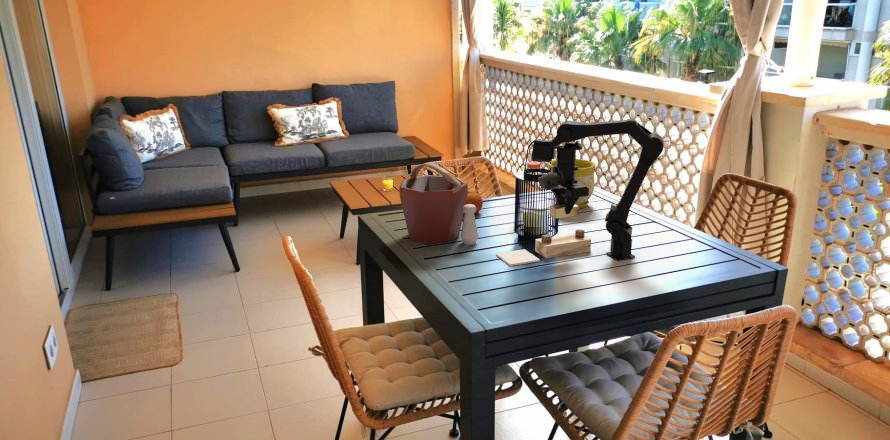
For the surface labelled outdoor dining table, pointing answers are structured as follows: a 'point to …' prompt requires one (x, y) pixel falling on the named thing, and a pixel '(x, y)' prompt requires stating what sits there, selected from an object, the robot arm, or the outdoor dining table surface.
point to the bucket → (433, 205)
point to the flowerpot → (582, 178)
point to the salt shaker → (469, 225)
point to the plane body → (563, 244)
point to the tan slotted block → (562, 211)
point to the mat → (517, 257)
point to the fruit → (474, 200)
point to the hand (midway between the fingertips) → (564, 212)
